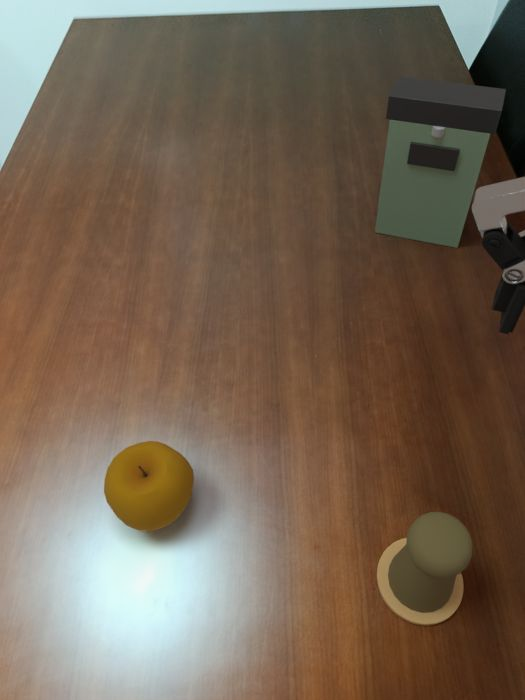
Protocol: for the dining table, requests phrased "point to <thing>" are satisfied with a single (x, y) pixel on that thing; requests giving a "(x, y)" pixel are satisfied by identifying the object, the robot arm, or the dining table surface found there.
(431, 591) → the pepper shaker
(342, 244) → the dining table surface
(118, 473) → the apple
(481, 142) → the green box with lid
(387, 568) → the cork mat
